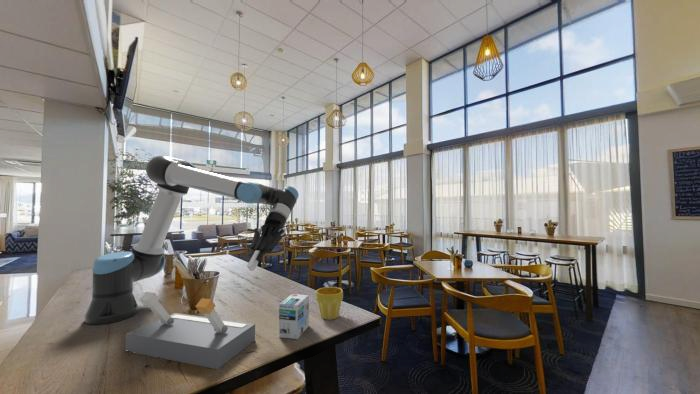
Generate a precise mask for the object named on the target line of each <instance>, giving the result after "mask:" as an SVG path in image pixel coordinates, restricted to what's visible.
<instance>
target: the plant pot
mask: <svg viewBox="0 0 700 394" xmlns="http://www.w3.org/2000/svg"><path fill="white" fill-rule="evenodd" d="M343 299H344V291H343V289H342V288H341V287H336V286H326V287H320V288H318V289H316V290H315V301H316V302H317V303H318V309H319V313H320V316H321V317H320V318H321V319H323V320H335V319H337V318H338V317H339V316H340V309H341V305H342V304H341V303H342V301H343Z"/></svg>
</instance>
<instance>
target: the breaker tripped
mask: <svg viewBox="0 0 700 394" xmlns="http://www.w3.org/2000/svg"><path fill="white" fill-rule="evenodd" d="M195 308H196V310H197V311H198V312H199V313H200V314H204V317H207V319H208V320H209V322H210V323H211V324H212V326H213V327H214V331H216V332H223V333H225V332H226V331H227V329H228V327H227V326H225V324H224V323H223V321H222V320H221V319H222V318H221V317H220V315H219V314H218V312H217V311H216V309H215V308H216V304H215V302H214V301H213V299H211V298H203V297H202V298H200V300H199V301H198V302H197V304H196V305H195Z"/></svg>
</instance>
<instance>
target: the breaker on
mask: <svg viewBox="0 0 700 394" xmlns="http://www.w3.org/2000/svg"><path fill="white" fill-rule="evenodd" d="M138 301H139V302H141V304H143V306H146V307H148V308H149V309H150V310H151V311H152V312H153V313H154V315H155V316H156V317H157V318H158V320H159V319H160V320H161V323H164V324H172V323H173V322H174V319H173V318H171V316H170V315H171V314H169V313H168V311H167V310H166V309H165V308H164V306H163V305H162V304H161V303H160V298H159V296H158V295H157V294H156V292H152V291H151V292H149V291H146V292H145V293H144V294H143V295H142V296H140V298H139V299H138Z"/></svg>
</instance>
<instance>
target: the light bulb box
mask: <svg viewBox="0 0 700 394" xmlns="http://www.w3.org/2000/svg"><path fill="white" fill-rule="evenodd" d="M278 308H279V310H278V338H284V339H293V340H299V338H300V337H301V336H302V334H303V333H304V332H305V331H306V330H307V328H309V324H310V295H307V294H298V293H297V294H296V293H292V294H290V295H289V296H288V297H285V299H284V300H282V301H280V303H279V304H278Z"/></svg>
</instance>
